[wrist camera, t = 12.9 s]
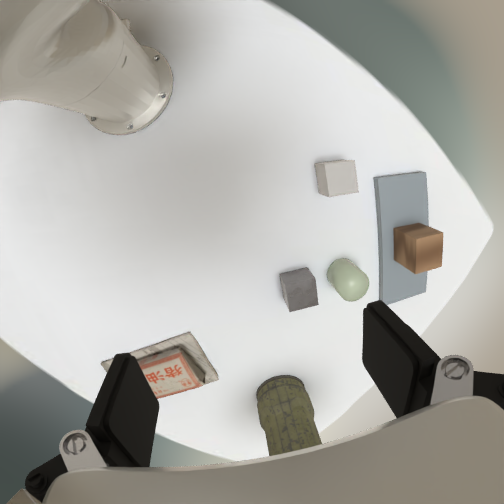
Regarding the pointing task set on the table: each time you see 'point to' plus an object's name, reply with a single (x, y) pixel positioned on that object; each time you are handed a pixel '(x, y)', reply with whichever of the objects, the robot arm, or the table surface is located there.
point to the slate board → (395, 215)
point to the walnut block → (418, 247)
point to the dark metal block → (299, 289)
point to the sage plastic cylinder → (348, 279)
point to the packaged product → (173, 365)
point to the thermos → (286, 415)
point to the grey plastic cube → (336, 177)
